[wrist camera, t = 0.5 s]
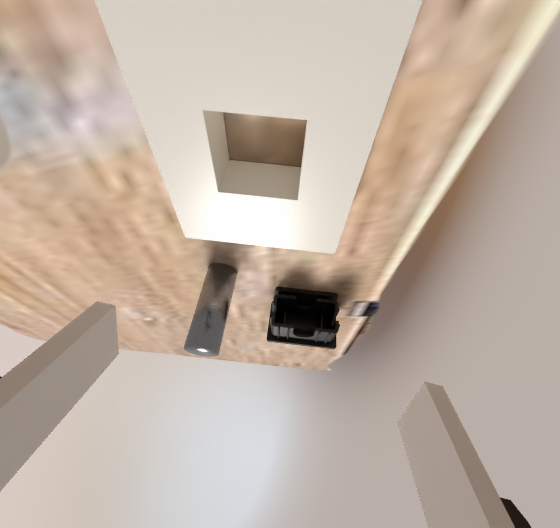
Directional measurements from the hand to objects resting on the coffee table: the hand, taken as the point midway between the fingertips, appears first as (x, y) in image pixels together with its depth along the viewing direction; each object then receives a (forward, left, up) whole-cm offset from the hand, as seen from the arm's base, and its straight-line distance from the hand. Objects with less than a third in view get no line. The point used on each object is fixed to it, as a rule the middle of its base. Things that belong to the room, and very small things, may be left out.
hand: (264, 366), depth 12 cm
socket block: (-1, -2, -17) cm, 17 cm away
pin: (+20, -8, -17) cm, 27 cm away
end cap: (+26, +4, -17) cm, 31 cm away
